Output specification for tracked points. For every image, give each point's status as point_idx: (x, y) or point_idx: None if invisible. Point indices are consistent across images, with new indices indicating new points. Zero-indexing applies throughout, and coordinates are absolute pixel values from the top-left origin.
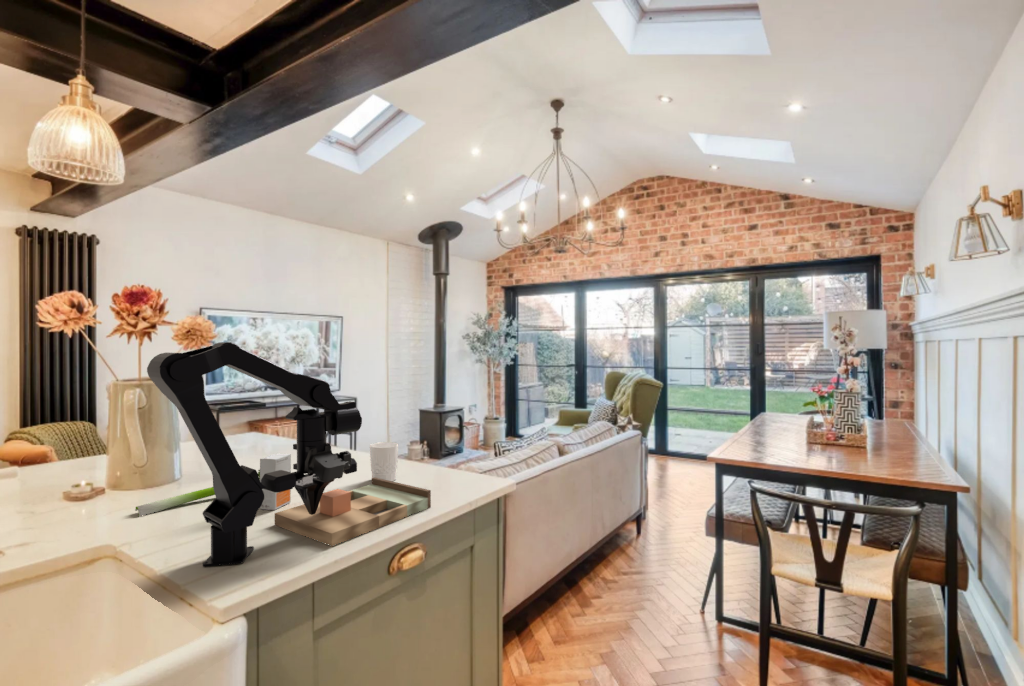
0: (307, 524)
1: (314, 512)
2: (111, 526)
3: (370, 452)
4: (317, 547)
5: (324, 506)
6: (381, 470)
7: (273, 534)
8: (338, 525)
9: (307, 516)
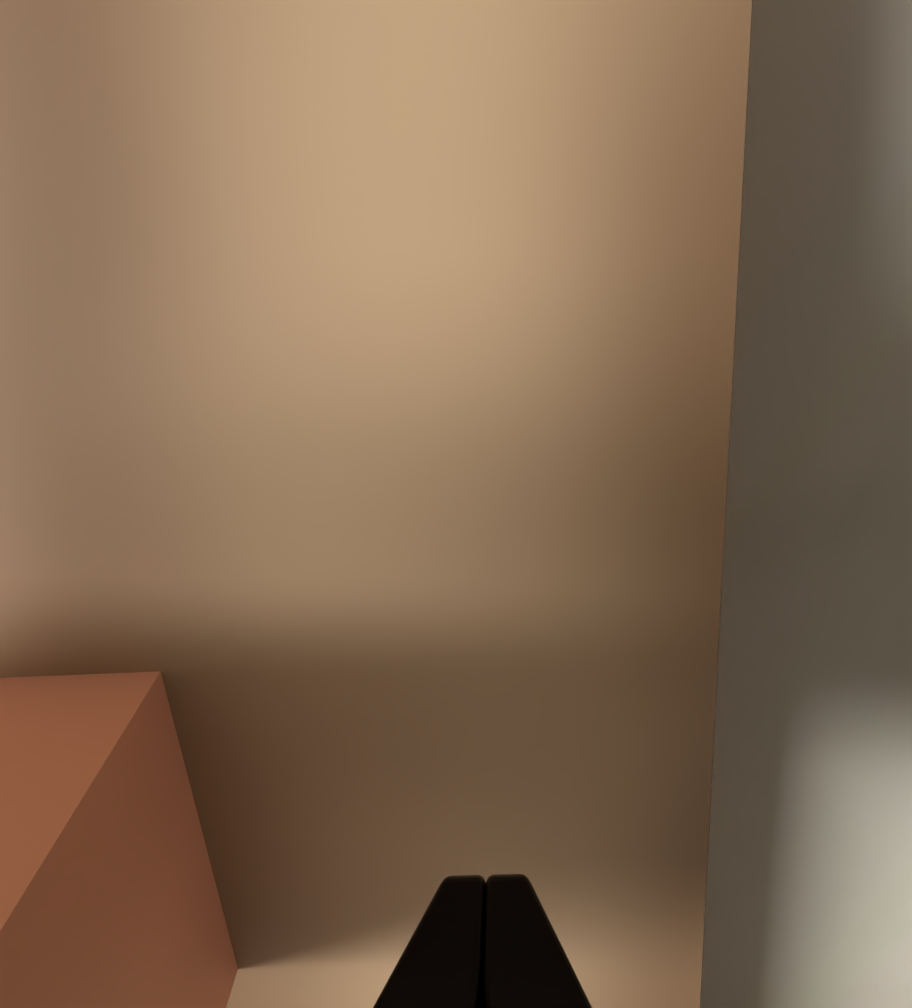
0: (700, 683)
1: (474, 893)
2: None
3: None
4: (862, 6)
5: (165, 1000)
6: None
7: (850, 945)
8: (315, 101)
9: None
